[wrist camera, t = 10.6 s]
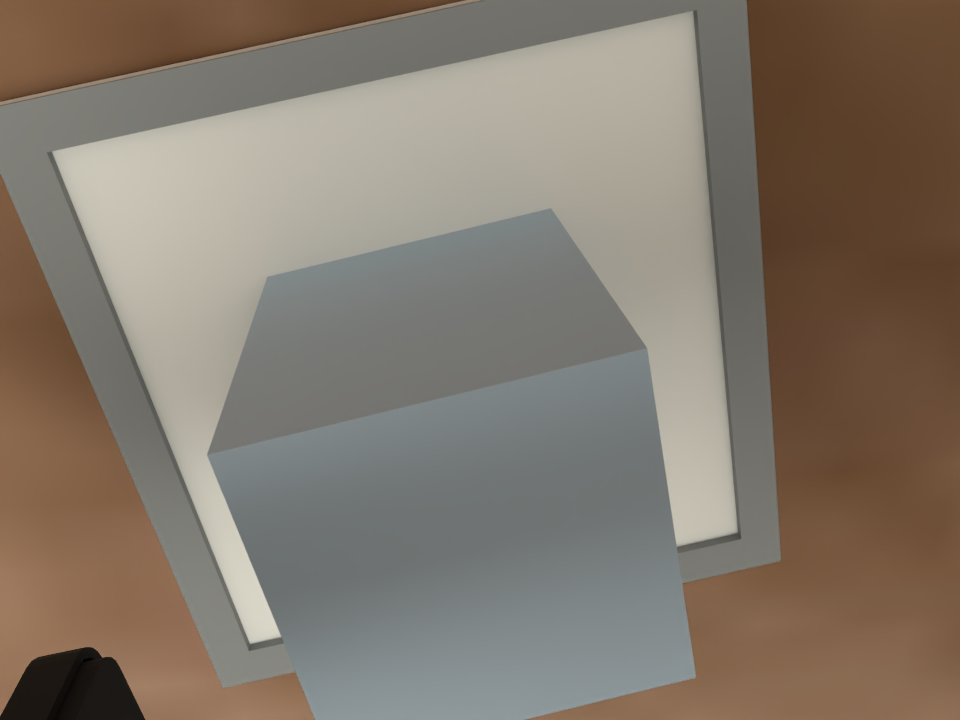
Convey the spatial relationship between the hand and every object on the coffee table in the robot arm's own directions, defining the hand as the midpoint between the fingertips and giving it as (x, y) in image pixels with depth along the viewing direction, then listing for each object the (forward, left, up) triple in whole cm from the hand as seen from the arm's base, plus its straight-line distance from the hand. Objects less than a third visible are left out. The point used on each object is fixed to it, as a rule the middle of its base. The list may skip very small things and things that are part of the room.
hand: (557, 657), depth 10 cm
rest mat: (+1, 0, -8) cm, 8 cm away
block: (+1, 0, -7) cm, 7 cm away
